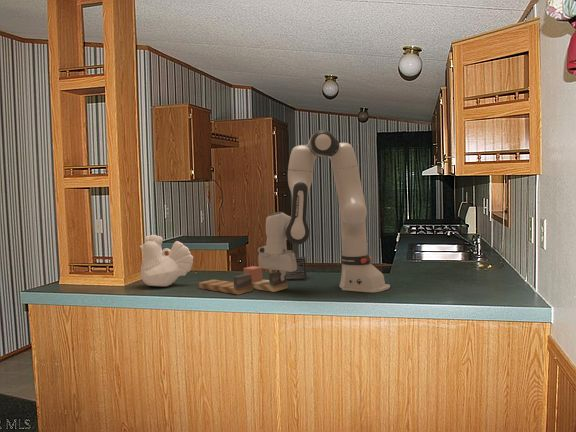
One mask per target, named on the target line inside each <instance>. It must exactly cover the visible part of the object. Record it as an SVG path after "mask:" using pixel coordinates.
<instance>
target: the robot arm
mask: <svg viewBox="0 0 576 432" xmlns="http://www.w3.org/2000/svg"><path fill="white" fill-rule="evenodd" d="M290 152H291V153H290V156H289V159H288V166H287V168H288V169H287V183H288V188H289V191H290V193H291V201H292V203H291V214H290V215H289V214H286V213H284V212H283V211H276V212H273V213H269V214H268V215H267V217H266V218H265V219H266V220H265V235H266V242H265V244H266V245H263V246H261V247H258V249H257V252H258V253H259V254H258V255H257V256H258V260H257V261H258V264H257V265H258V267H260V268H262V270H263V269H264V270H269V271H268V272H269V274H272V273H275V272H276V271H278V272H280V271H281V273H282V274H281V276H280V277H279V280H280V281H283V280H284V276H285V274H286V271H288V272H293V271H296V269H297V263H296V258H295V257H296V254H295V252H294V251H293V250H292V249H288V248H287V241H288V242H289V243H291V244H292V245H295V246H296V245H302V244H305V243H306V242H307V240H308V239H309V237H310V229H309V225H308V223H307V209H308V208H307V207H308V197H309V193H310V189H311V185H312V182H313V176H314V175H313V174H314V164H315V161H316V159H317V158H322V157H328V158H329V161H330V163H331V167H332V172H333V178H334V183H335V184H334V185H335V188H336V193H337V198H338V199H337V200H338V204H339V205H338V206H339V214H340V215H339V217H340V233H341V234H340V235H341V237H340V238H341V255H340V261H341V262H340V263H341V275H340V276H341V277H340V283H339V285H338V287H339V288H340V289H341V291H348V292H349V291H350V292H361V293H380V292H384V291H387V290H388V289H390V288H391V284H389V283H387V284H386V282H385V276H384V274H383V273H382V272H381V271H380V270H379V269H378V268H377V267H376V266H374V265H373V264H372V263H371V262H372V261H371V260H373V256H369V255H368V246H367V245H368V242H367V241H368V240H367V230H366V229H367V228H366V227H367V226H366V218H367V213H368V210H367V205H366V201H365V196H364V191H363V187H362V182H361V176H360V170H359V165H358V160H357V159H358V158H357V156H356V153H355V151H354V148H353V146H352V145H351V143H349V142H339V140H337V138H336V137H335V136H334V135H333V133H331V132H330V131H329V130H326V129H319V130H317V131H315V132H314V133H313V134H312V135H311V136H310V138H309V141H307V143H306V144H300V145H296V146H294V147H293V148H292V149H291V151H290Z"/></svg>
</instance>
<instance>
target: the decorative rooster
mask: <svg viewBox="0 0 576 432" xmlns="http://www.w3.org/2000/svg"><path fill="white" fill-rule="evenodd" d="M163 241H164V238H163V237H162V236H160V235H157V234H151V235H146V236H144V243H143V244H141V245H139V248H140V249H141V250H142V252H141V253H142V255H141V258H142V262H141V266H140V278H141V280H142V282H143V283H144V284H145V285H146V286H149V287H150V286H151V287H170V286H171V285H172V284H174V282H175V281H177V280H178V278H179V277H182V276H183V277H184V276H186V275H187V273H188V272H191V271H192V267H193V263H194V255H192V254H191V251H190V249H189V247H187V246H186V245H184V243H182V242H180V241H178V240H176V241H174V242H173V244H172V247H171V249H170V248H168V247H167V248H166V247H165V248H162V244H163ZM165 252H168V254H167V255H166V254H165ZM169 285H170V286H169Z"/></svg>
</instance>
